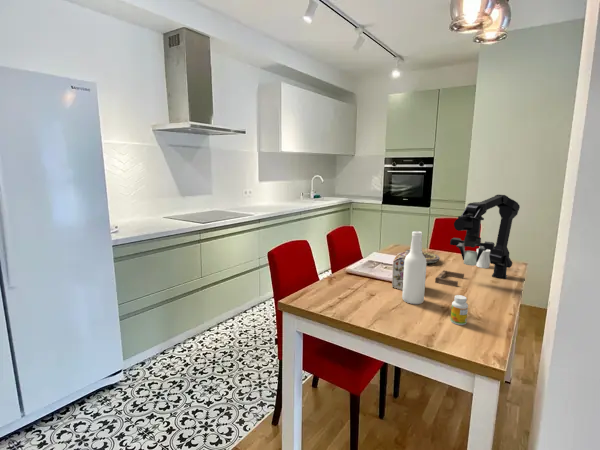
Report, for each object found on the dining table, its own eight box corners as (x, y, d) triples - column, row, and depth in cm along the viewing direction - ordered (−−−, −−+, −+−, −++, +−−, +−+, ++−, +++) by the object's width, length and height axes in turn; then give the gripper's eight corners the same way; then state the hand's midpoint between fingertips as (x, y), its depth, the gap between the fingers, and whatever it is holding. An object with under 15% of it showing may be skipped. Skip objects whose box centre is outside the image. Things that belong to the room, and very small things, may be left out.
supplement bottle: (447, 319, 126) (449, 294, 124) (461, 318, 126) (463, 294, 125) (455, 325, 121) (457, 300, 119) (469, 325, 121) (471, 299, 119)
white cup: (492, 269, 189) (494, 251, 187) (477, 268, 190) (478, 251, 189) (487, 265, 196) (489, 248, 195) (473, 264, 198) (474, 247, 196)
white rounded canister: (464, 261, 168) (465, 250, 167) (477, 263, 165) (478, 251, 164) (462, 264, 163) (463, 252, 162) (475, 266, 160) (476, 254, 159)
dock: (443, 274, 179) (443, 270, 179) (463, 277, 173) (464, 273, 173) (435, 282, 166) (435, 278, 166) (456, 286, 160) (457, 282, 160)
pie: (406, 253, 224) (406, 246, 223) (450, 260, 208) (450, 253, 207) (391, 263, 201) (391, 255, 200) (438, 272, 186) (439, 263, 185)
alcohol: (413, 306, 137) (417, 234, 132) (397, 299, 145) (401, 230, 140) (428, 302, 141) (433, 232, 136) (412, 295, 149) (416, 229, 144)
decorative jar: (425, 287, 159) (428, 250, 156) (415, 294, 151) (417, 255, 148) (402, 281, 167) (404, 246, 164) (390, 287, 159) (392, 250, 156)
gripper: (448, 229, 160) (446, 261, 163) (493, 234, 149) (489, 268, 152) (453, 226, 169) (450, 256, 172) (496, 230, 158) (492, 262, 161)
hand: (470, 260), depth 164 cm, fingers closed on white rounded canister, 6 cm apart
